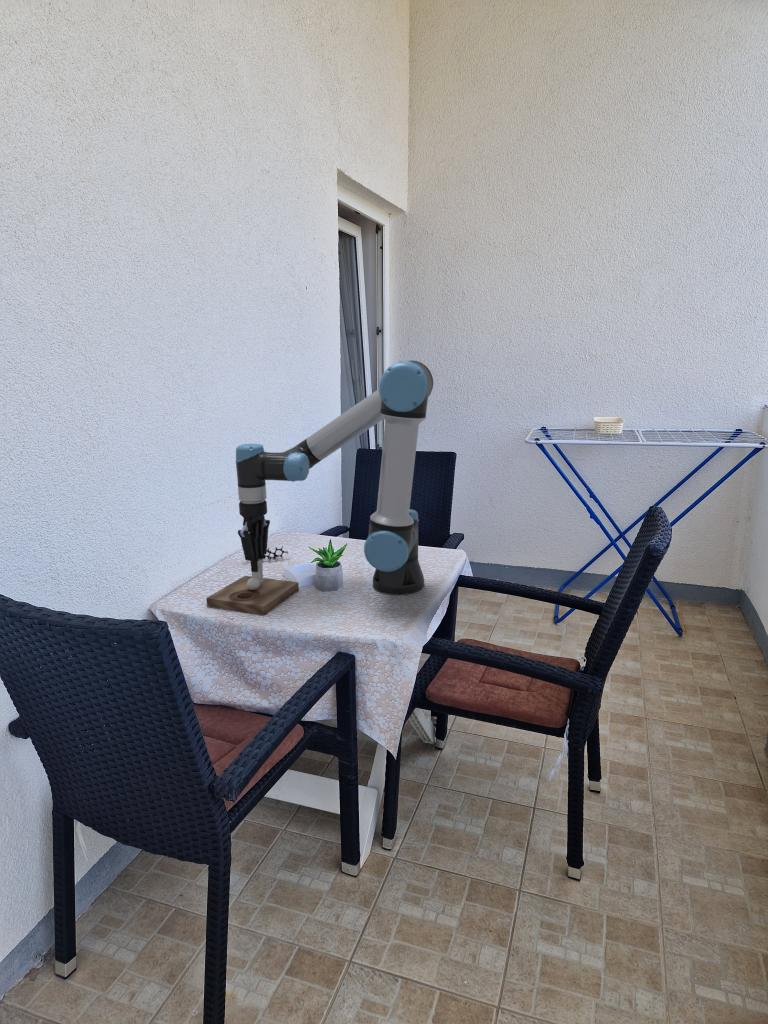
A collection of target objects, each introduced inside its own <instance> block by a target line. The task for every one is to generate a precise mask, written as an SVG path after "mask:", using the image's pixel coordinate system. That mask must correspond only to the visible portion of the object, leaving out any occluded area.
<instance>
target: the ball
mask: <svg viewBox="0 0 768 1024" xmlns="http://www.w3.org/2000/svg"><path fill="white" fill-rule="evenodd" d="M247 586H248V588H249V589H251V590H256V589H258V588H259V586H260V581H259V580H258V579H257V578H250V579H249V580H248V582H247Z"/></svg>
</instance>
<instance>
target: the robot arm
mask: <svg viewBox="0 0 768 1024" xmlns="http://www.w3.org/2000/svg"><path fill="white" fill-rule="evenodd" d="M433 388H434V377H433V375H432V372H431V371H430V369H429V367H428V366H426V365H425V364H424V363H422V362H420V361H417V360H406V361H403V360H400V361H397V362H395V363H393V364H391V365H390V366H388V367H387V368H386V370H384V372H383V374H382V375H381V377H380V380H379V384H378V389H377V390H375V391H373V392H372V393H371V394H369V395H367V396H366V397H364V399H362V400H361V401H359V402H357V403H356V404H355V405H353V406H352V407H350V408H349V409H348V410H346V411H344V412H342V413H341V414H340V415H338V416H337V417H336V418H335V419H333V420H332V421H329V423H326V425H324V426H323V427H321V428H320V429H318V430H317V431H315V432H314V433H312V434H311V435H310V436H308V437H307V438H305V439H304V440H302V441H301V442H299V443H298V444H296V445H295V446H294V447H291V448H289V449H287V450H285V451H283V452H282V451H281V452H268V451H265V450H264V446H263V444H261V443H243V444H239V445H238V446H237V447H236V448H235V464H236V465H235V466H236V467H235V468H236V477H237V479H236V480H237V494H238V500H239V502H238V508H239V509H238V510H239V512H238V513H239V515H240V516H241V517H242V519H243V521H242V529H238V530H237V534H238V536H239V538H240V542H241V547H242V551H243V554H244V560H245V561H250V571H251V576H252V578H257V579H258V580H259V581H260V583H261V582H263V578H264V573H263V572H264V571H263V562H262V561H263V560H262V559H264V560H265V559H266V558H267V557H266V556H264V554H265V555H267V554H268V553H267V550H268V539H269V538H268V536H269V528H270V527H269V526H270V523H271V520H270V519H265V515H267V513H268V505H267V504H268V503H267V500H266V499H267V486H266V485H267V482H266V481H283V482H284V481H286V482H303V481H305V480H306V479H307V478H308V475H309V473H310V469H312V468H313V467H314V466H316V465H317V464H319V463H320V462H322V461H323V460H324V459H326V458H327V457H329V456H331V455H332V454H333V453H335V452H337V451H338V450H340V449H341V448H342V447H344V446H345V445H347V444H348V443H350V442H351V441H354V439H356V438H358V437H359V436H360V435H362V434H364V433H365V432H366V431H368V430H370V429H371V428H373V427H374V426H376V425H377V424H379V423H381V421H383V420H384V432H383V441H382V452H381V461H380V462H381V463H380V474H379V482H378V483H379V484H378V492H377V503H376V511H374V512H373V513H372V514H371V515H370V516H369V517H370V518H369V527H368V536H367V538H366V539H365V542H364V547H363V553H364V556H365V559H366V561H367V562H368V564H369V565H371V567H373V568H374V569H375V570H374V574H373V577H372V587H373V590H376V591H377V592H380V593H382V594H387V595H399V596H400V595H410V594H413V593H414V594H415V593H417V592H419V591H421V590H423V589H424V587H425V576H424V573H423V570H422V568H421V565H420V562H419V561H420V560H419V521H420V519H419V514H418V511H416V510H414V509H410V508H411V498H412V490H413V482H414V481H413V479H414V471H415V462H416V451H417V444H418V435H419V425H420V424H421V423H423V422H424V421H425V420H426V419H427V417H426V416H427V410H428V409H427V408H428V400H429V396H431V394H432V391H433Z"/></svg>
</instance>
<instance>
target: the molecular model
mask: <svg viewBox="0 0 768 1024" xmlns="http://www.w3.org/2000/svg"><path fill="white" fill-rule="evenodd" d="M283 548H284V546H281V548H278V546H275V547H274V549H275V550H274V552H272V549H270V547H267V553H266V555H265V554H264V556H266V558H267V560H268V562H271V559H272V560H275V561H277V560H278V558H279V557H280V558H281V559H284V556H283V555H284V554H285V553H286V554H287V555H290V554H289V551H284V549H283ZM277 551H281V554H279V555H278V554H277ZM267 554H268V555H267ZM271 554H273V556H271ZM262 563H263V559H262Z"/></svg>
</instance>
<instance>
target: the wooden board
mask: <svg viewBox="0 0 768 1024" xmlns="http://www.w3.org/2000/svg"><path fill="white" fill-rule="evenodd" d="M250 578H252V575H243V576H242V577H240V578H238V579H237V580H235V581H233V582H232V583H229V584H228V585H227V586H226V585H225V587H222V588H221V589H219V590H218V591H216V592H214V593H212V594H211V595H209V596H208V597H206V607H207V606H209V607H208V608H213V607H215V608H214V609H219V608H222V609H221V610H226V609H227V611H232V610H234V612H239V611H240V612H241V613H248V614H254V615H258V616H259V615H260V616H266V615H267V614H268V613H269V612H271V611H273V610H274V609H275V608H277V607H278V606H279V605H281V604H282V603H283V602H285V601H287V600H288V599H289V598H291V597H292V596H293V595H294V594H297V592H299V588H300V587H299V586H300V585H299V581H298V582H297V581H292V580H291V581H290V580H283V579H275V578H267V577H263V582H261V583H260V586H259V588H258V589H256V590H251V589H249V588H248V586H247V582H248V580H249V579H250Z"/></svg>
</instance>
